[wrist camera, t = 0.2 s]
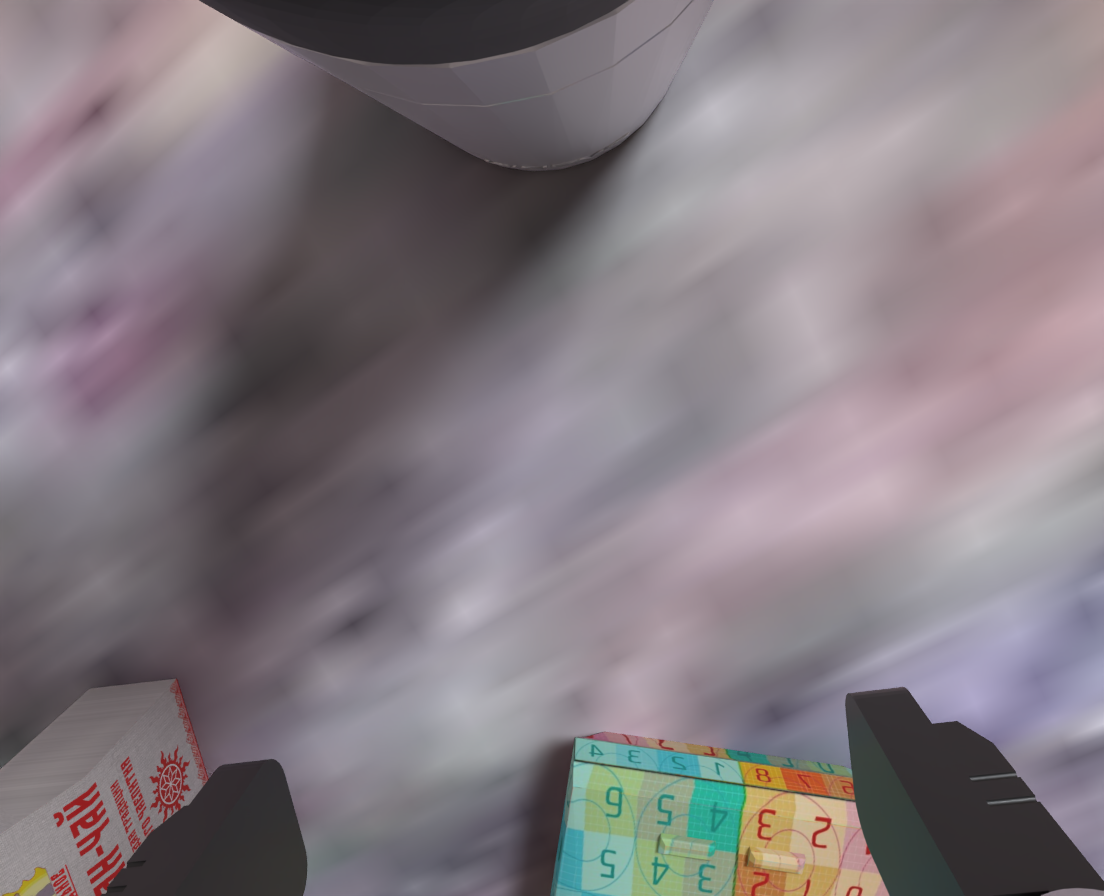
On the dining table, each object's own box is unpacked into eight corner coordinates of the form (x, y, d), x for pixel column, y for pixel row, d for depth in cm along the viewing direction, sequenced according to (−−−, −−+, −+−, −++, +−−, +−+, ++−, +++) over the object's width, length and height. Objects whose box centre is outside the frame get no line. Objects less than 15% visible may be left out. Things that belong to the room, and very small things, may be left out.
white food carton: (138, 829, 33) (-48, 1073, 24) (90, 688, 32) (-133, 889, 22) (222, 821, 33) (66, 1065, 23) (176, 678, 31) (-11, 878, 22)
